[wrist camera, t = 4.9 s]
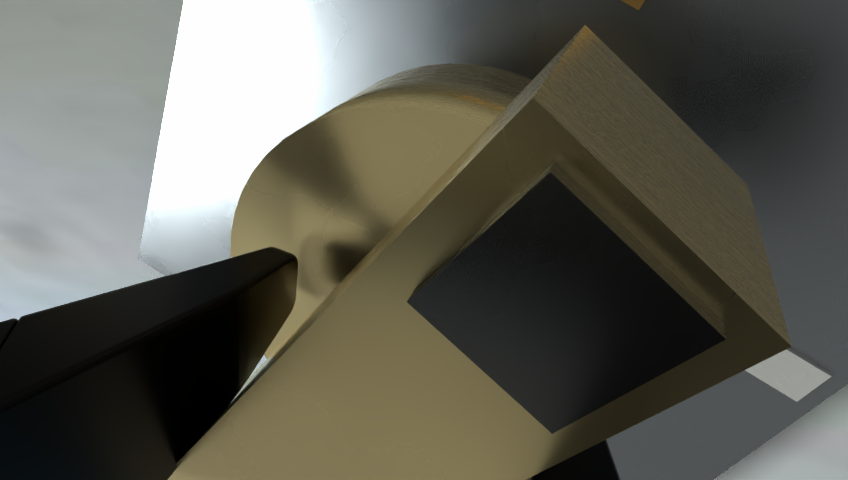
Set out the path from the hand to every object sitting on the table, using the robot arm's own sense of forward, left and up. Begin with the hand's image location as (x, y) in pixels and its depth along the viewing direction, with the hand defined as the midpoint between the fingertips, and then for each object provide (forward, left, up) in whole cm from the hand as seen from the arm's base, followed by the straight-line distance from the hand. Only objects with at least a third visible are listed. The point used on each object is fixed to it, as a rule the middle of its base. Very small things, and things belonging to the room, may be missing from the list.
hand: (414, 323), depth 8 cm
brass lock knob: (0, 0, -3) cm, 3 cm away
